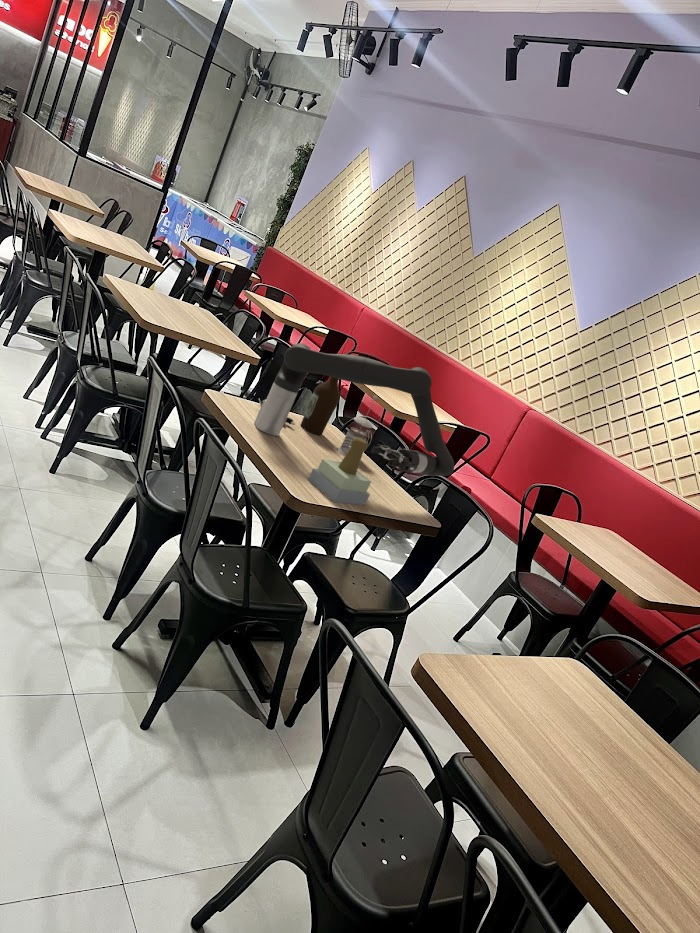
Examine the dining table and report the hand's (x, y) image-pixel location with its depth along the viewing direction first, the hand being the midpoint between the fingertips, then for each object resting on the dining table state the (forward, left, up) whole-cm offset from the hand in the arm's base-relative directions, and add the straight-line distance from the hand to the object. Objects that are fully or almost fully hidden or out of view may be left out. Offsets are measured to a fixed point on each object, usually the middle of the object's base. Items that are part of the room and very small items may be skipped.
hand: (380, 455), depth 225 cm
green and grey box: (0, -12, -15) cm, 19 cm away
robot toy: (-59, +5, -15) cm, 61 cm away
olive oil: (-54, +20, -15) cm, 60 cm away
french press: (-34, +25, -15) cm, 45 cm away
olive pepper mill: (0, -12, -7) cm, 14 cm away
